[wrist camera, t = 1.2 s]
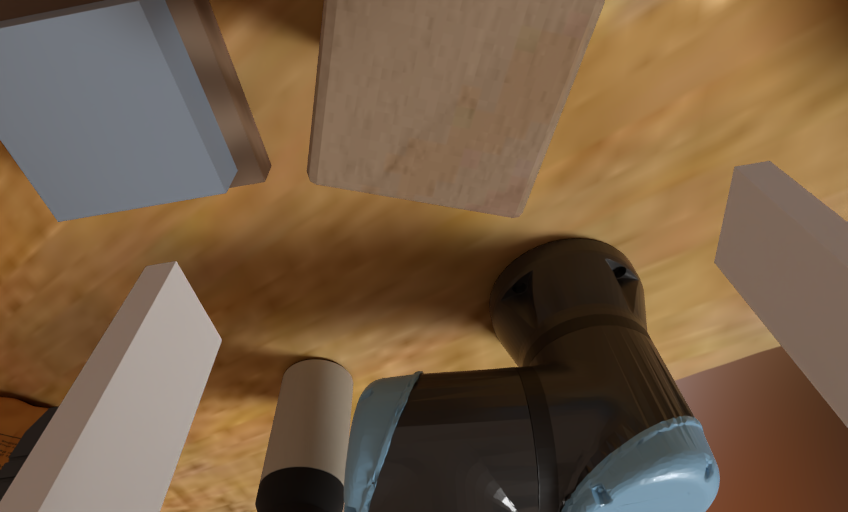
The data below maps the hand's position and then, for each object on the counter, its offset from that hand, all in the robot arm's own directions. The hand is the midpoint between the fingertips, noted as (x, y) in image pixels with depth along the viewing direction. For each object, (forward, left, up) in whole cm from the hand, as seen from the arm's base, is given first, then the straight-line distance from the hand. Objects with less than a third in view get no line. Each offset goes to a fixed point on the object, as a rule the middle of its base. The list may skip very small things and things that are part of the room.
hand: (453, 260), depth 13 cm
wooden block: (0, -1, -30) cm, 30 cm away
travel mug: (-37, +18, -30) cm, 51 cm away
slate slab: (-2, +22, -27) cm, 35 cm away
